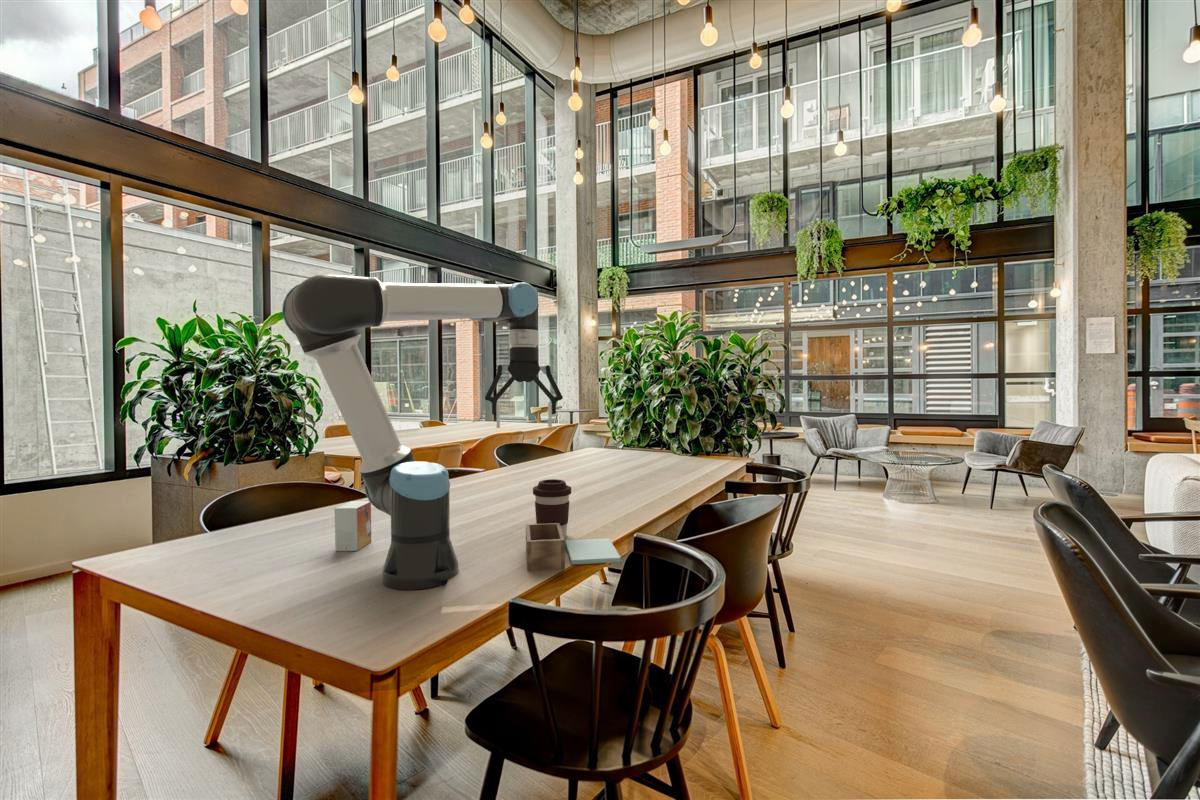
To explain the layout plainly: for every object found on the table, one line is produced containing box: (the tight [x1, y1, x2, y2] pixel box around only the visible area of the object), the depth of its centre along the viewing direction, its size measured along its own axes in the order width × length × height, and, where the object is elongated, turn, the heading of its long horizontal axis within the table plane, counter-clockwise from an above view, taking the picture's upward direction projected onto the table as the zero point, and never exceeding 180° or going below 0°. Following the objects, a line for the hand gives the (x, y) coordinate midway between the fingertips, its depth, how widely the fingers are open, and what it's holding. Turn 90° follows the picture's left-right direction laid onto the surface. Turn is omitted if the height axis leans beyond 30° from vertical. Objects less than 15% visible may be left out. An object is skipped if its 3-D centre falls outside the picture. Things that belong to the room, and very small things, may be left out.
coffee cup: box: [532, 478, 572, 539], centre depth 141 cm, size 10×10×15 cm
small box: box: [334, 500, 372, 552], centre depth 134 cm, size 8×6×10 cm
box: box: [525, 523, 566, 572], centre depth 123 cm, size 8×14×7 cm, turn 9°
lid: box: [565, 537, 622, 565], centre depth 127 cm, size 11×15×2 cm
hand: (524, 427), depth 144 cm, fingers open, 13 cm apart
